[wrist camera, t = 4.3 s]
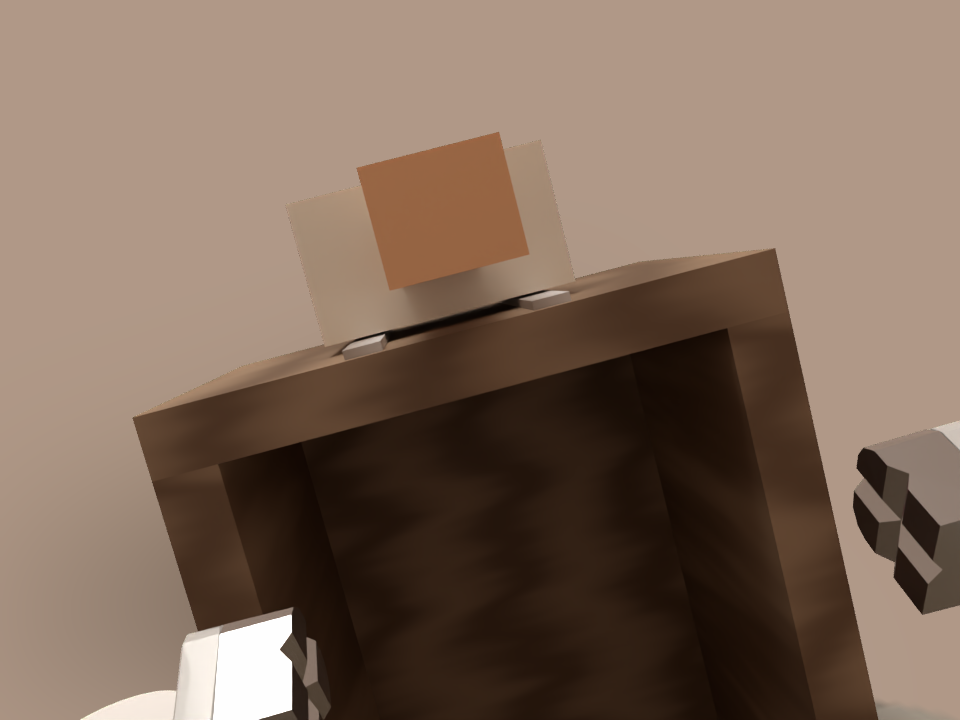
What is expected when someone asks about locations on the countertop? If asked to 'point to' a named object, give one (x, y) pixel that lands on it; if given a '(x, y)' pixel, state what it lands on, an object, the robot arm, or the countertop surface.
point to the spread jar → (139, 708)
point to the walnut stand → (533, 507)
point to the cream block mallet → (431, 237)
